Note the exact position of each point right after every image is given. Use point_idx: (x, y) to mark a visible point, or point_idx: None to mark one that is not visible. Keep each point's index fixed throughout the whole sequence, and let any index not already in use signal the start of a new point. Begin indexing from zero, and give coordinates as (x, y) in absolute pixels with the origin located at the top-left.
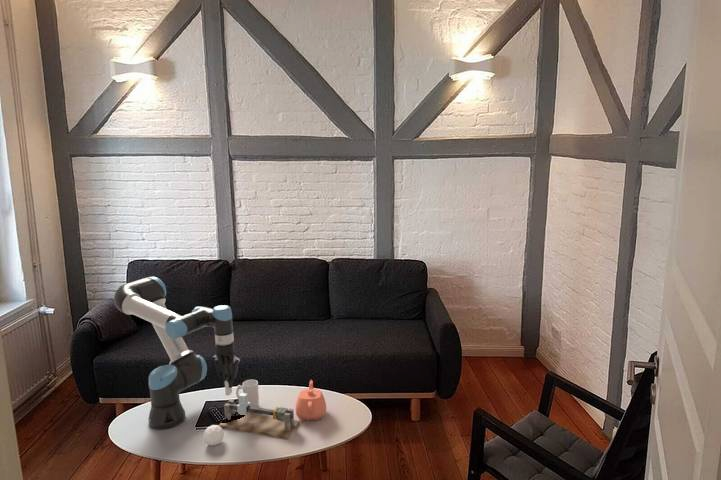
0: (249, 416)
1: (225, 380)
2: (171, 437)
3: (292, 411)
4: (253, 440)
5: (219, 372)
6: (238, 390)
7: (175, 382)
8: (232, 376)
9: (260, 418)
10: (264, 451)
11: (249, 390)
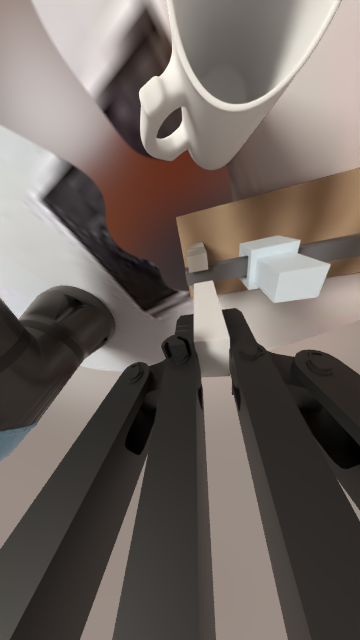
0: (251, 223)
1: (201, 370)
2: (140, 346)
3: None
4: (298, 301)
5: (141, 469)
6: (156, 133)
7: (15, 407)
8: (321, 438)
9: (299, 213)
10: (335, 320)
11: (265, 113)
